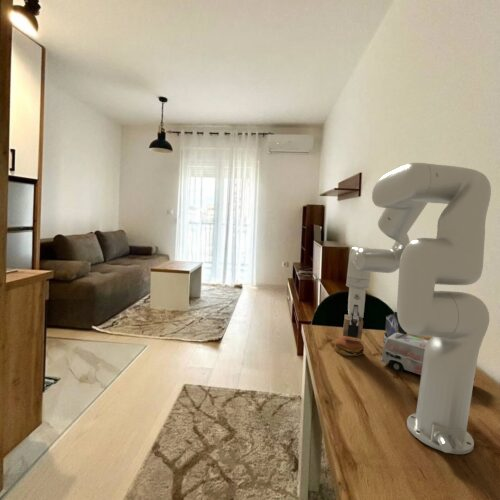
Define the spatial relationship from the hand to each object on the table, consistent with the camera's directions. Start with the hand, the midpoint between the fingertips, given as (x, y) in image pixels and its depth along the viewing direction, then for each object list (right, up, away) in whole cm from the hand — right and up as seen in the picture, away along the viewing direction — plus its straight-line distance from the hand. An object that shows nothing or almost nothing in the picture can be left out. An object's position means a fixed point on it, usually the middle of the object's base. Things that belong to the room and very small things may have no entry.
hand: (352, 333), depth 113 cm
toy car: (+19, -10, -12) cm, 25 cm away
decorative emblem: (+16, -8, +4) cm, 19 cm away
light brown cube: (0, -1, 0) cm, 1 cm away
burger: (-1, -7, +1) cm, 7 cm away
